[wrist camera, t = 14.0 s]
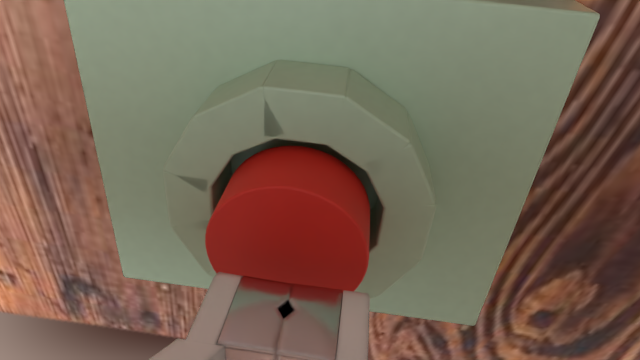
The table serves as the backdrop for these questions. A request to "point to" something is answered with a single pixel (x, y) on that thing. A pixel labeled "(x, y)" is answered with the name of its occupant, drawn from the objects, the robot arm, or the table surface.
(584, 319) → the table surface
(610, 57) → the table surface
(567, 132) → the table surface
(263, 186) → the button
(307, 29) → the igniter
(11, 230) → the table surface
